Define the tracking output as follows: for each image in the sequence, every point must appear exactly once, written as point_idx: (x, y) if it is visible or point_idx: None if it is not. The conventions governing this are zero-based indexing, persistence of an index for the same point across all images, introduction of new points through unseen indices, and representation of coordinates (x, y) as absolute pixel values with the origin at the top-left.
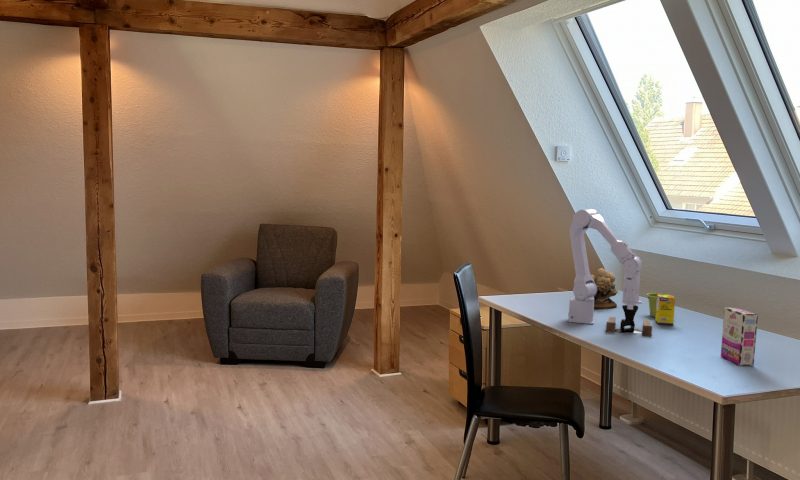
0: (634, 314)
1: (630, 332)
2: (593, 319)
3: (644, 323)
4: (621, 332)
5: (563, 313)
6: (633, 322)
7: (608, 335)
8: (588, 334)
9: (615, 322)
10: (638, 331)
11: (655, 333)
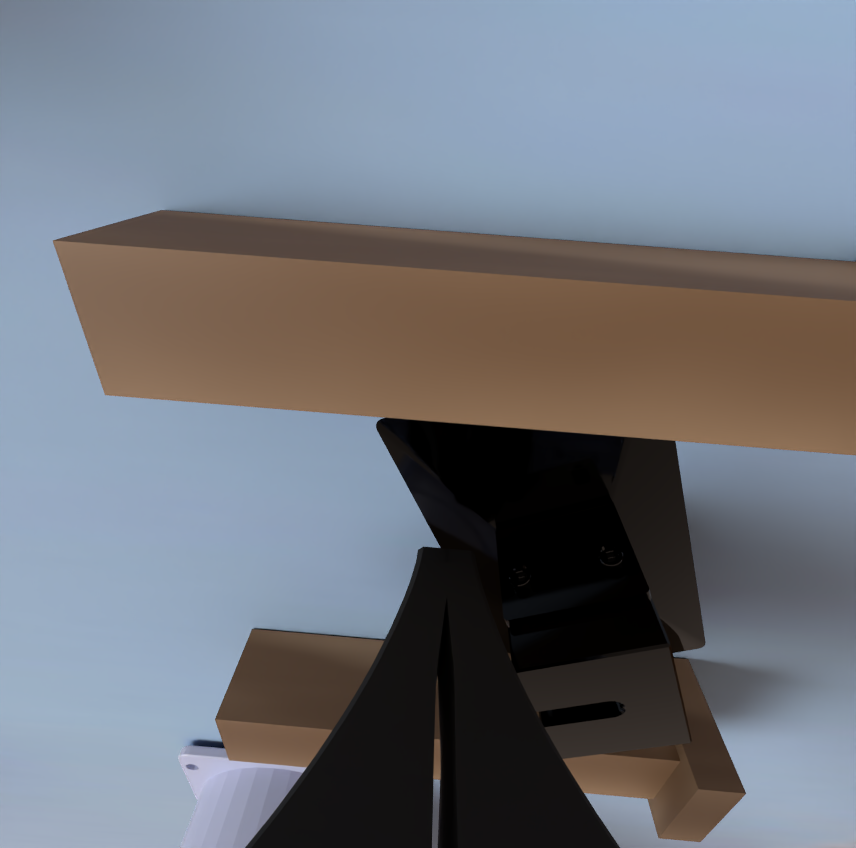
0: (557, 759)
1: (673, 532)
2: (209, 762)
3: (512, 411)
4: (689, 615)
5: (87, 838)
6: (658, 623)
7: (827, 708)
8: (779, 799)
9: (712, 792)
10: (626, 440)
11: (683, 127)
